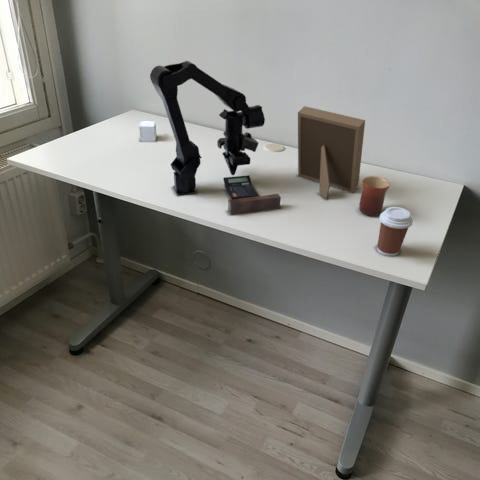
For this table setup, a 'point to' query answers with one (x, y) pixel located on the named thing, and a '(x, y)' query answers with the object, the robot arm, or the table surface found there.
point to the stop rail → (254, 204)
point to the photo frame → (329, 149)
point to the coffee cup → (393, 230)
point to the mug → (373, 195)
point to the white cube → (147, 131)
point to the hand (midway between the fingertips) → (232, 174)
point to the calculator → (239, 187)
